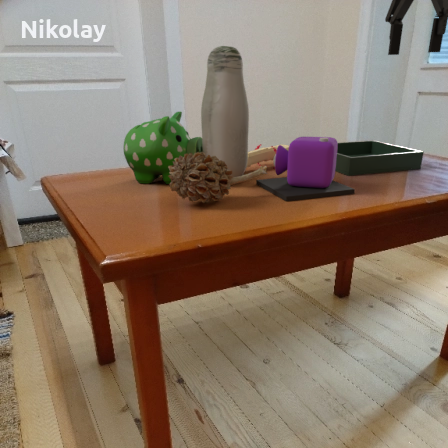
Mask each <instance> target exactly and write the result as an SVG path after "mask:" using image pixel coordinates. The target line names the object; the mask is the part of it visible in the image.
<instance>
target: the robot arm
mask: <svg viewBox="0 0 448 448" xmlns="http://www.w3.org/2000/svg"><path fill="white" fill-rule="evenodd" d="M414 1H415V0H391V3H390V5H389V8H388V11H387V12H386V13H387V14H386V16H385V18H384V19H385V20H384V21H385V22H386V23H389V24H390V27H389V28H390V30H389V36H388V37H389V38H388V39H389V45H388V51H387V55H388V56H398V55H400V51H401V50H400V49H401V41H402V34H403V28H404V24H403V19H404V18H405V16H406V14H407V12H408V11H409V9H410V8H411V6H412V4H413V3H414ZM430 1H431V4H432V7H433V8H434V11H435V15H434V18H433V20H432V26H431V32H430V39H429V43H428V49H427V53H441V49H442V43H443V38H444V35H445V33H446V30H447V25H448V0H430Z"/></svg>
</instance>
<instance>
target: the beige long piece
mask: <svg viewBox="0 0 448 448" xmlns="http://www.w3.org/2000/svg"><path fill="white" fill-rule="evenodd" d="M279 145H281V146H283V147H284V148H285V149H286V150H288V151H289V145H290V144H277V145H271V146H268V147H261V146H262V143H260V144H258V145H257V146H256V147H255V148H254V149H253V150H250V151H248V161H247V167H246V169H247V168H250V167H251V166H253V165H258V166H259V167H261V166H262V165H261V164H260V163H262V162H268V161H273V160H274V156H275V154H276V152H277V148H278V146H279ZM273 169H274V170H275V166H273Z"/></svg>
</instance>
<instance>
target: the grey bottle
mask: <svg viewBox="0 0 448 448" xmlns="http://www.w3.org/2000/svg"><path fill="white" fill-rule="evenodd" d="M206 70H207V71H206V77H205V79H206V80H205V85H204V86H205V87H204V90H203V91H204V92H203V95H202V101H201V109H200V115H201V116H200V122H201V124H200V125H201V138H202V144H203V152H204V153H205V155H206V157H207V155H210V156H211V157H212V156H216V157H217V158H218V159H219V161H220V160H222V161H224V162H225V164H226V165H227V167H228V170H232V174H231V175H230V176H232V177H233V178H234V177H239V176H242V175H245V171H246V169H247V168H248V167H247V161H248V152H249V128H250V127H249V125H250V110H249V108H250V107H249V101H248V97H247V91H246V86H245V81H244V63H243V57H242V54H241V52H240V51H239V49H237V48H236V47H234V46H227V45H220V46H216V47H214V48H213V49H212V50H211V51H210V53H209V55H208V57H207V62H206ZM246 167H247V168H246Z"/></svg>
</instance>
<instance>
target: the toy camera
mask: <svg viewBox="0 0 448 448" xmlns="http://www.w3.org/2000/svg"><path fill="white" fill-rule="evenodd" d="M338 143H339V142H338V140H337V139H336V138H335V137H332V136H298V137H296V138H295V139H293V140H292V141H291V142H290V144H288V145H289V151H288V150H286V149H285V148H284V147H283V146H281V145H280V144H278V145H279V146H278V148H277V152H276V154H275V156H274V160H272V161H273V167H275V169H274V170H275V174H276V176H280V175H282V174H284V173H285V172H286V171H287V172H286V177H287V181H288V184H289V185H291V186H297V187H313V188H326V187H328V186H329V185H330V184H331V182H332V180H333V181H334V179H335V174H336V171H335V168H336V158H337V148H338Z"/></svg>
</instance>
